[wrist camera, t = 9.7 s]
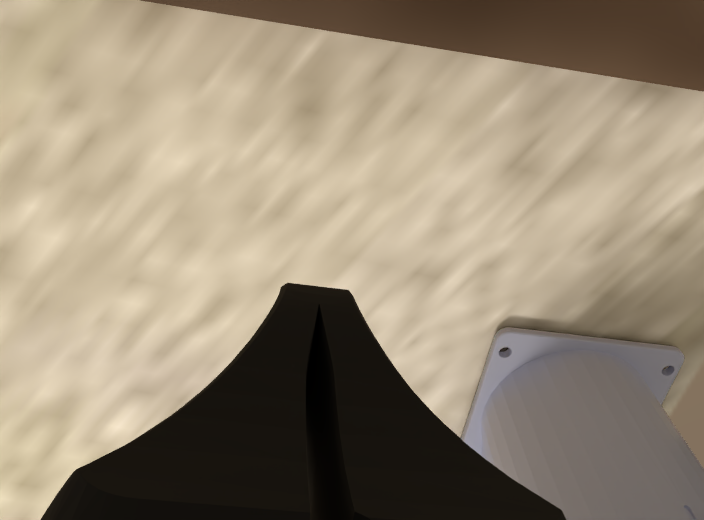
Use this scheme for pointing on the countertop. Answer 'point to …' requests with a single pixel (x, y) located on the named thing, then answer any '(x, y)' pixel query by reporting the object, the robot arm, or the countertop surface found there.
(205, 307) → the countertop surface
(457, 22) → the button panel
